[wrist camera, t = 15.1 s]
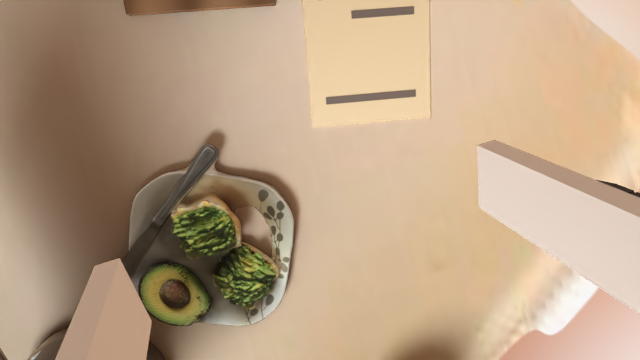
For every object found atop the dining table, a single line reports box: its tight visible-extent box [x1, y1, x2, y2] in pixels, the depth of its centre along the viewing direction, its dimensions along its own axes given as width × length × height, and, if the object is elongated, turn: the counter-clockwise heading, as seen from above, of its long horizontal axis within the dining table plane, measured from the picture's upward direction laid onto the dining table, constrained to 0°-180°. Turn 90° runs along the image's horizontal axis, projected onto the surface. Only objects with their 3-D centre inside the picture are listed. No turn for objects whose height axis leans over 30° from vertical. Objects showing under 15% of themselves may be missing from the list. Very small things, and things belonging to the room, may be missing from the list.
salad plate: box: [121, 144, 294, 326], centre depth 39 cm, size 19×18×5 cm
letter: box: [302, 0, 431, 128], centre depth 38 cm, size 12×16×1 cm
